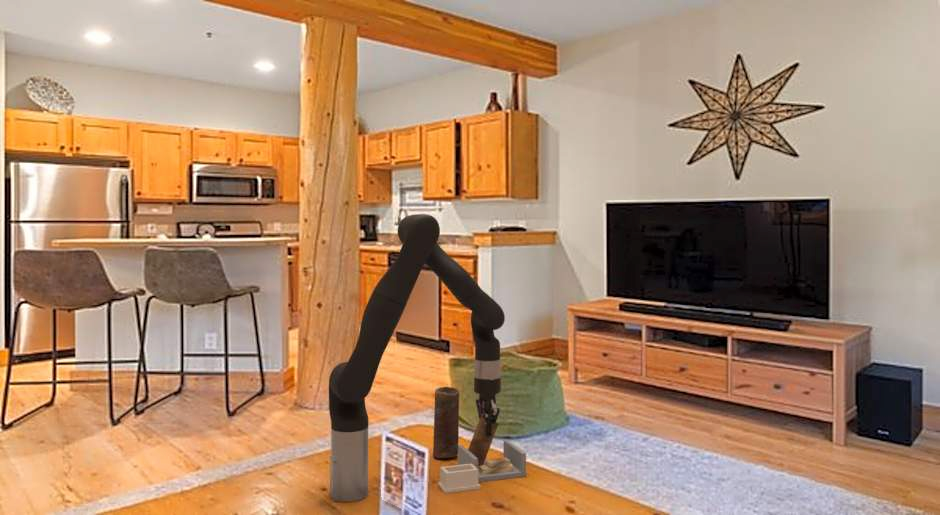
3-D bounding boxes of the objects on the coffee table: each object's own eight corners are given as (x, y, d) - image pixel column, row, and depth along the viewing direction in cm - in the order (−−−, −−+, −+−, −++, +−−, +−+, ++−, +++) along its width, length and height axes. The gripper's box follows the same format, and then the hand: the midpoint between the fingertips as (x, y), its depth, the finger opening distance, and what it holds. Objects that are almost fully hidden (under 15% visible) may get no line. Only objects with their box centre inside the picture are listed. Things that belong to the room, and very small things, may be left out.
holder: (444, 493, 162) (444, 474, 162) (437, 485, 168) (437, 466, 168) (480, 488, 165) (480, 470, 165) (472, 480, 171) (472, 462, 171)
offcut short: (489, 468, 172) (489, 463, 172) (485, 465, 175) (485, 459, 175) (510, 465, 175) (510, 460, 175) (505, 462, 177) (505, 457, 177)
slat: (467, 459, 178) (483, 418, 179) (464, 457, 180) (480, 416, 181) (483, 464, 179) (498, 423, 181) (480, 462, 181) (496, 421, 183)
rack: (473, 482, 170) (473, 459, 169) (457, 467, 182) (457, 445, 182) (526, 476, 174) (526, 453, 174) (507, 461, 187) (507, 439, 187)
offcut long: (482, 475, 172) (482, 469, 172) (478, 471, 175) (478, 465, 175) (513, 471, 175) (513, 465, 175) (509, 467, 178) (509, 462, 178)
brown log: (458, 452, 194) (458, 386, 194) (459, 460, 187) (459, 391, 187) (433, 453, 194) (433, 386, 194) (433, 461, 187) (433, 392, 186)
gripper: (466, 371, 186) (466, 432, 186) (483, 380, 173) (483, 445, 173) (491, 370, 188) (491, 429, 188) (509, 379, 176) (509, 442, 176)
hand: (487, 437), depth 181 cm, fingers closed on slat
